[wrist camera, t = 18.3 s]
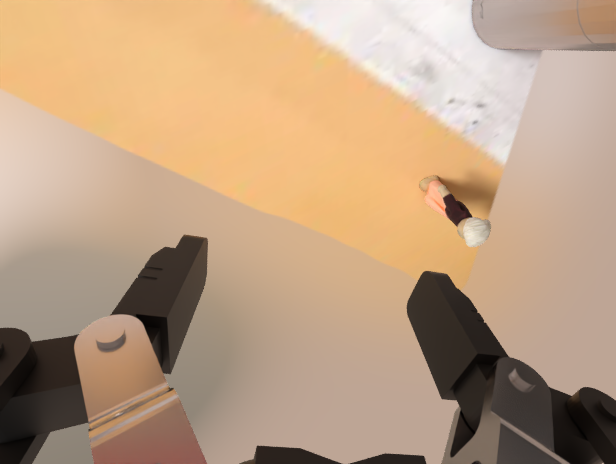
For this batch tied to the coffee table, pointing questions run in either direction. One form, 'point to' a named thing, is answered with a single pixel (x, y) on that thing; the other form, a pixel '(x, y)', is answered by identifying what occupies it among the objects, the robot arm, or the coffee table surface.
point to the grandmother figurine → (455, 212)
